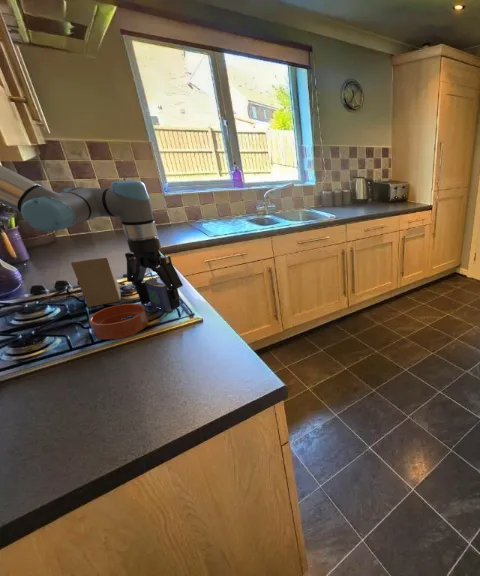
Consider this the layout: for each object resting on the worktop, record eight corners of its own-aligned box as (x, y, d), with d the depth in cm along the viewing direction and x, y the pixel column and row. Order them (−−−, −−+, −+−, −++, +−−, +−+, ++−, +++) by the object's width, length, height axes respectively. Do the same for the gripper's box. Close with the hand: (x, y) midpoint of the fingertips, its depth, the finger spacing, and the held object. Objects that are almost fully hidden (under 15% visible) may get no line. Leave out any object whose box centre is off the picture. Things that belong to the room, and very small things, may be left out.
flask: (175, 310, 103) (167, 279, 98) (165, 314, 100) (157, 282, 96) (157, 303, 107) (149, 273, 102) (148, 307, 104) (138, 275, 100)
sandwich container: (120, 284, 118) (107, 244, 112) (121, 300, 107) (107, 257, 101) (89, 290, 113) (74, 248, 107) (87, 307, 102) (70, 262, 96)
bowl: (83, 337, 88) (76, 320, 86) (125, 315, 99) (120, 301, 97) (119, 344, 85) (114, 328, 83) (159, 322, 96) (155, 307, 94)
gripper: (186, 237, 95) (201, 305, 104) (122, 230, 100) (141, 295, 109) (165, 244, 88) (182, 316, 97) (97, 236, 93) (119, 305, 102)
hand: (160, 305), depth 103 cm, fingers open, 11 cm apart
